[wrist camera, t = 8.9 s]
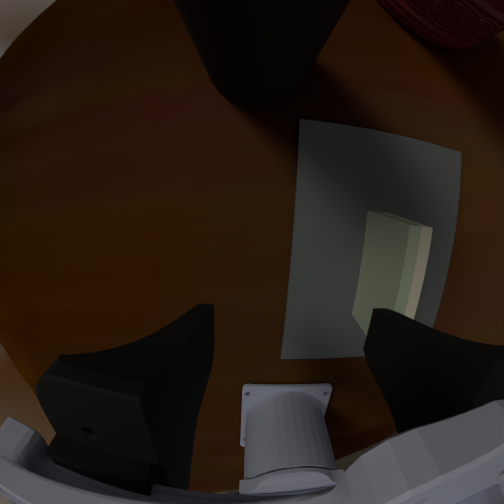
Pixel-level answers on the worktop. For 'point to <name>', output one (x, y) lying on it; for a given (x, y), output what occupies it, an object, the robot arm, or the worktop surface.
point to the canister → (449, 20)
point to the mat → (360, 227)
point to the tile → (391, 266)
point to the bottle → (259, 43)
